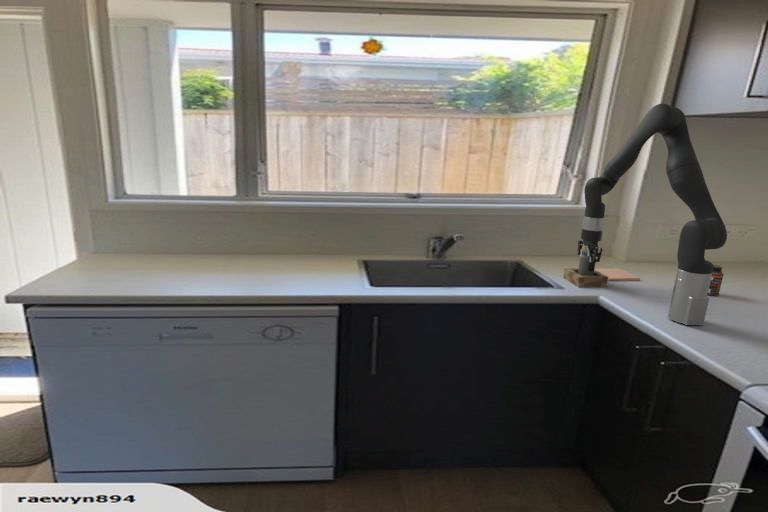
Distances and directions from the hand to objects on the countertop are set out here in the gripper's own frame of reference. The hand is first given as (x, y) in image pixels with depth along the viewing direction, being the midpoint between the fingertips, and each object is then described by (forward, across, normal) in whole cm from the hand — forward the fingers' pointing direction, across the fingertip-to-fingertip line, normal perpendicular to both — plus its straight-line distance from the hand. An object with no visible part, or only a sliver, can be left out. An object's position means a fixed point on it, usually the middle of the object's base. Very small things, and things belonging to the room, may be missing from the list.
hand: (586, 268), depth 184 cm
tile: (+6, +8, -18) cm, 21 cm away
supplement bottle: (+6, -16, -42) cm, 45 cm away
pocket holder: (+6, 0, 0) cm, 6 cm away
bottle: (+6, 0, 0) cm, 6 cm away
